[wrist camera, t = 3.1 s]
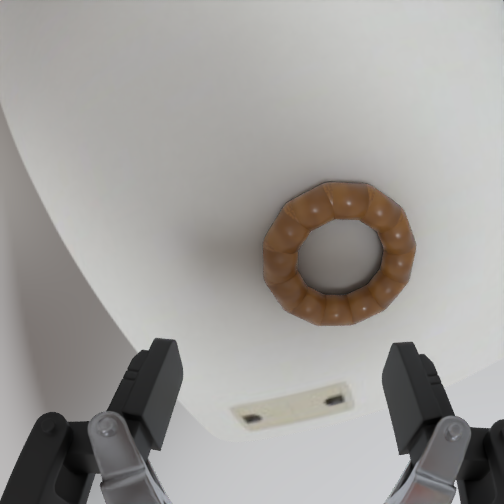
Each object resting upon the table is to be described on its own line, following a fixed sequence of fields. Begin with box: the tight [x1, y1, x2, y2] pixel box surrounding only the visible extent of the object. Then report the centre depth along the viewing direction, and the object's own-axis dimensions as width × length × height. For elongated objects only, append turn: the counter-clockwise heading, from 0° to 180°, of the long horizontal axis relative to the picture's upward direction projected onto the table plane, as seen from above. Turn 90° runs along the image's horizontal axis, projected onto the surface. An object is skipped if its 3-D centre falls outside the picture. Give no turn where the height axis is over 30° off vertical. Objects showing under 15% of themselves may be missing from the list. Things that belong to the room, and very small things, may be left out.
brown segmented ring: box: [263, 182, 416, 326], centre depth 18 cm, size 9×9×2 cm
